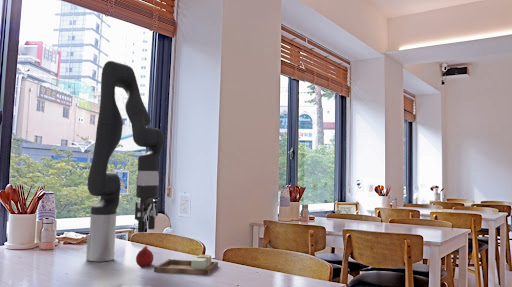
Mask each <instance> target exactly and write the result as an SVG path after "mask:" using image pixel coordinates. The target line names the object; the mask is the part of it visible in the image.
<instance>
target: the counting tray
mask: <svg viewBox="0 0 512 287" xmlns="http://www.w3.org/2000/svg"><path fill="white" fill-rule="evenodd" d="M191 260H192V259H191ZM191 260H189V259H188V260H187V259H168V258H167V259H166V260H165V261H163V262H161V263H159V264H157V265H155V266H153V272H154V273H165V274H170V273H171V274H185V275H186V274H187V275H199V276H200V275H201V276H208V275H210V274H211V273H212V272H214V270H215V269H217V268H218V266H219V262H218V261H211V266H209V267H208V268H207V269H192V268H191Z"/></svg>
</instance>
